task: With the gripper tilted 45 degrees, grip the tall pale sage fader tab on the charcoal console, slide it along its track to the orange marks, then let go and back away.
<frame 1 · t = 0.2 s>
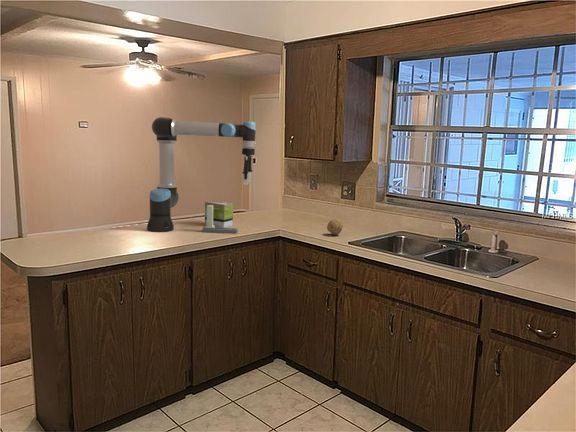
hand: (247, 183, 282), 28 cm above the worktop, tool pointing down, fingers open, 13 cm apart
tea box: (218, 225, 294), on the worktop
natural sponge: (334, 235, 276), on the worktop
fader console: (220, 231, 274), on the worktop
fader tab: (210, 216, 273), point 9 cm above the worktop, slide at -6.0 cm
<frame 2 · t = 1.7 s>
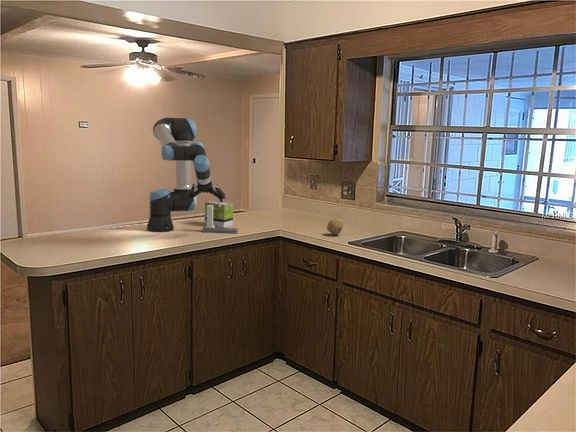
hand: (207, 204, 261), 17 cm above the worktop, tool tilted 45°, fingers open, 13 cm apart
nothing on the worktop moved.
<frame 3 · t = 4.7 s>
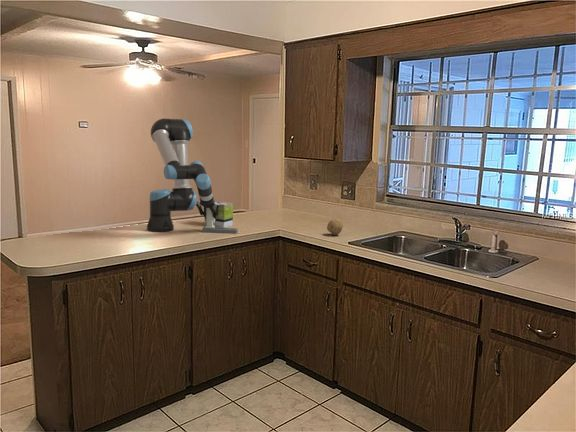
hand: (211, 220, 277), 6 cm above the worktop, tool tilted 45°, fingers closed on fader tab, 3 cm apart
fader tab: (210, 216, 273), point 9 cm above the worktop, slide at -6.0 cm, touching gripper
everything else where it was.
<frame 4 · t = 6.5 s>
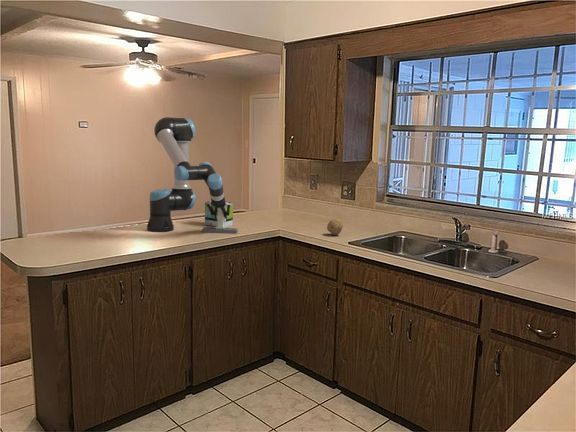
hand: (221, 220, 276), 6 cm above the worktop, tool tilted 45°, fingers closed on fader tab, 3 cm apart
fader tab: (220, 217, 272), point 9 cm above the worktop, slide at 0.3 cm, touching gripper
everything else where it was.
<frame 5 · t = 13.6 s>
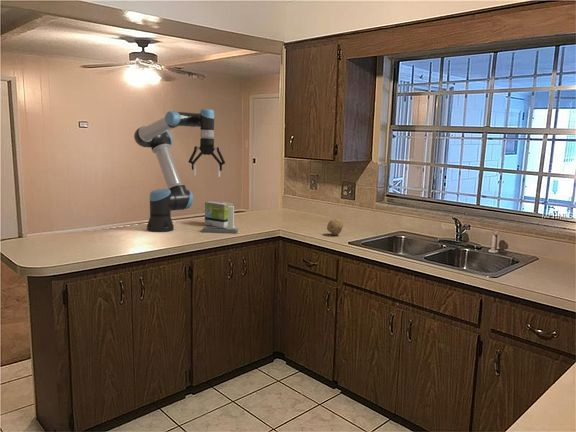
hand: (206, 176, 263), 33 cm above the worktop, tool pointing down, fingers open, 13 cm apart
fader tab: (230, 217, 272), point 9 cm above the worktop, slide at 6.1 cm
everything else where it was.
at the end: fader tab slide at 6.1 cm; the gripper is holding nothing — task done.
